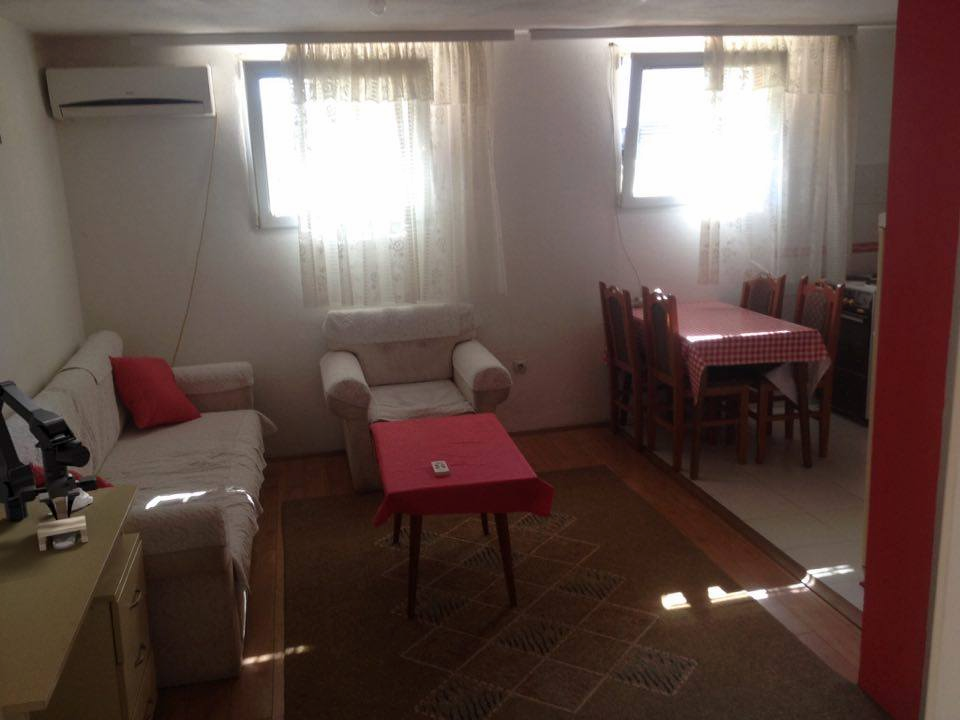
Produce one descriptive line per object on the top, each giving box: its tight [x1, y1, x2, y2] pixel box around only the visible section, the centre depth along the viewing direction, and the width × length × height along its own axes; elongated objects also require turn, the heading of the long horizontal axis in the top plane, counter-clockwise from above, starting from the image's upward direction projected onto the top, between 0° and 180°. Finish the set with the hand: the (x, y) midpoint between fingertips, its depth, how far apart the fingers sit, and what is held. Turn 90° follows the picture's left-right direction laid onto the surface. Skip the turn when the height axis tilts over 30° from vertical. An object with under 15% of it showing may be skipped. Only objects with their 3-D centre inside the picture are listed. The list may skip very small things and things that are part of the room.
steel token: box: [52, 536, 76, 550], centre depth 212 cm, size 5×5×2 cm
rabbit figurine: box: [47, 473, 94, 516], centre depth 239 cm, size 12×8×10 cm, turn 118°
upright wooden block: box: [52, 497, 77, 542], centre depth 221 cm, size 16×5×7 cm, turn 27°
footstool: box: [37, 514, 89, 552], centre depth 215 cm, size 8×11×4 cm
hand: (63, 518), depth 226 cm, fingers closed on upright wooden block, 2 cm apart
